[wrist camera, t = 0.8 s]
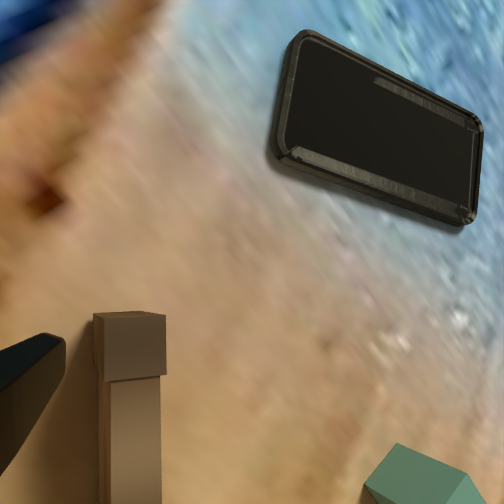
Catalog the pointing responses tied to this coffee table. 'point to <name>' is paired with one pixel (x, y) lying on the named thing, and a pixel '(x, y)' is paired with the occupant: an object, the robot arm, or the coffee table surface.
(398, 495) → the block
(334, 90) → the phone
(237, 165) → the coffee table surface
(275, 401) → the coffee table surface
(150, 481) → the gate
